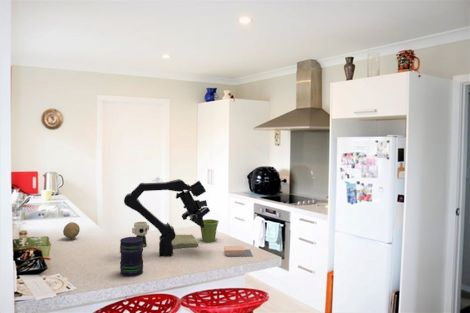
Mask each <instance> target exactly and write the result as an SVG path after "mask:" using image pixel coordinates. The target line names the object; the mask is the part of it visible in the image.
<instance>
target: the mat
mask: <svg viewBox="0 0 470 313" xmlns="http://www.w3.org/2000/svg"><path fill="white" fill-rule="evenodd" d="M242 257H243V258H248V257H251V258H252V257H254V255H253V253H252V251H251V249H245V255H226V258H242Z"/></svg>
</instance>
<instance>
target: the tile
mask: <svg viewBox="0 0 470 313" xmlns="http://www.w3.org/2000/svg"><path fill="white" fill-rule="evenodd" d="M223 247H224V249H223V251H224V255H225V256H227V255H245V250H246V249H245V247H244V245H224V246H223Z"/></svg>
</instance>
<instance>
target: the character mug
mask: <svg viewBox="0 0 470 313" xmlns="http://www.w3.org/2000/svg"><path fill="white" fill-rule="evenodd" d="M149 230H150V225H149V224H148V222H147V221H135V222H134V223H133V227H132V228H131V233H132V234H134V235H135V237H141V238H143V247H146V246H147V244H148V243H147V237H146V235H147V234H148V232H149Z"/></svg>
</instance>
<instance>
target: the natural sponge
mask: <svg viewBox="0 0 470 313" xmlns="http://www.w3.org/2000/svg"><path fill="white" fill-rule="evenodd" d="M80 230H81V228H80V226H79V224H77V223H76V222H74V221H73V222H71V221H70V222H69V223H67V224H66V225H65V226H64V227H63V230H62V233H63V236H64V237H66V238H67V239H69V240H74V239H75V238H76V237H77V236H78V235H79V233H80Z"/></svg>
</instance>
